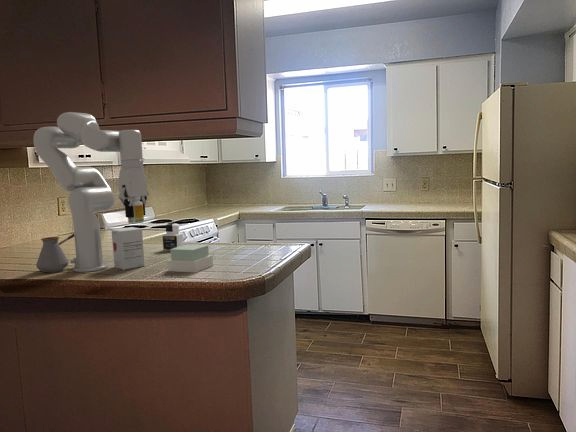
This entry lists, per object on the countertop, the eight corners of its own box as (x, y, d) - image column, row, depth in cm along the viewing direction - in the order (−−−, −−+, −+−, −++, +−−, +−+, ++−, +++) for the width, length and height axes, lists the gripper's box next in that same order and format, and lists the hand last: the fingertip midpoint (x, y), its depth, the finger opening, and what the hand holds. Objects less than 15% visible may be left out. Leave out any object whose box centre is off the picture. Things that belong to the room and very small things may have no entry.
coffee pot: (46, 275, 186) (42, 235, 184) (31, 272, 193) (27, 233, 191) (97, 264, 203) (94, 228, 201) (82, 262, 210) (79, 226, 208)
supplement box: (113, 267, 196) (110, 229, 194) (135, 263, 202) (132, 226, 200) (123, 270, 189) (120, 231, 188) (145, 266, 195) (142, 228, 194)
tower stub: (167, 271, 184) (166, 249, 183) (186, 264, 195) (185, 244, 194) (195, 272, 179) (194, 250, 178) (213, 265, 190) (211, 244, 189)
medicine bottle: (163, 250, 230) (161, 224, 229) (170, 248, 237) (168, 222, 236) (177, 250, 228) (175, 224, 227) (184, 248, 235) (182, 222, 234)
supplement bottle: (145, 221, 181) (143, 194, 180) (141, 223, 176) (140, 195, 175) (130, 222, 181) (128, 195, 180) (126, 224, 175) (124, 196, 174)
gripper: (139, 165, 185) (142, 213, 187) (106, 166, 170) (110, 219, 172) (156, 164, 182) (159, 213, 184) (124, 165, 167) (127, 219, 169)
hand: (135, 215), depth 178 cm, fingers closed on supplement bottle, 5 cm apart
